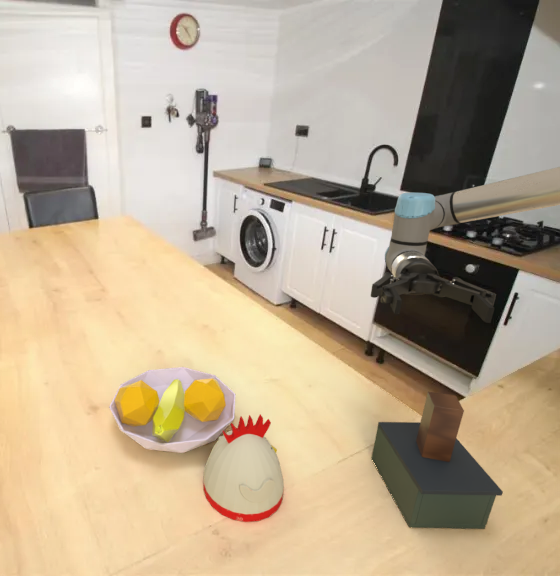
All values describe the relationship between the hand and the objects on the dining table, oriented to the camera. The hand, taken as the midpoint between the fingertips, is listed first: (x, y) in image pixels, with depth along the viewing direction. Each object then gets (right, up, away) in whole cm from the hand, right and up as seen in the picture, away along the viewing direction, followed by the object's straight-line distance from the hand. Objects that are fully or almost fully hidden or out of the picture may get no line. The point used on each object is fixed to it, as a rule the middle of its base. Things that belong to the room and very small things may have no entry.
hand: (442, 311), depth 69 cm
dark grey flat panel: (-3, -24, -1) cm, 24 cm away
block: (-3, -23, -1) cm, 23 cm away
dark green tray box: (-2, -31, +2) cm, 31 cm away
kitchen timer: (-33, -31, +3) cm, 46 cm away
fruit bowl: (-46, -26, +19) cm, 56 cm away
